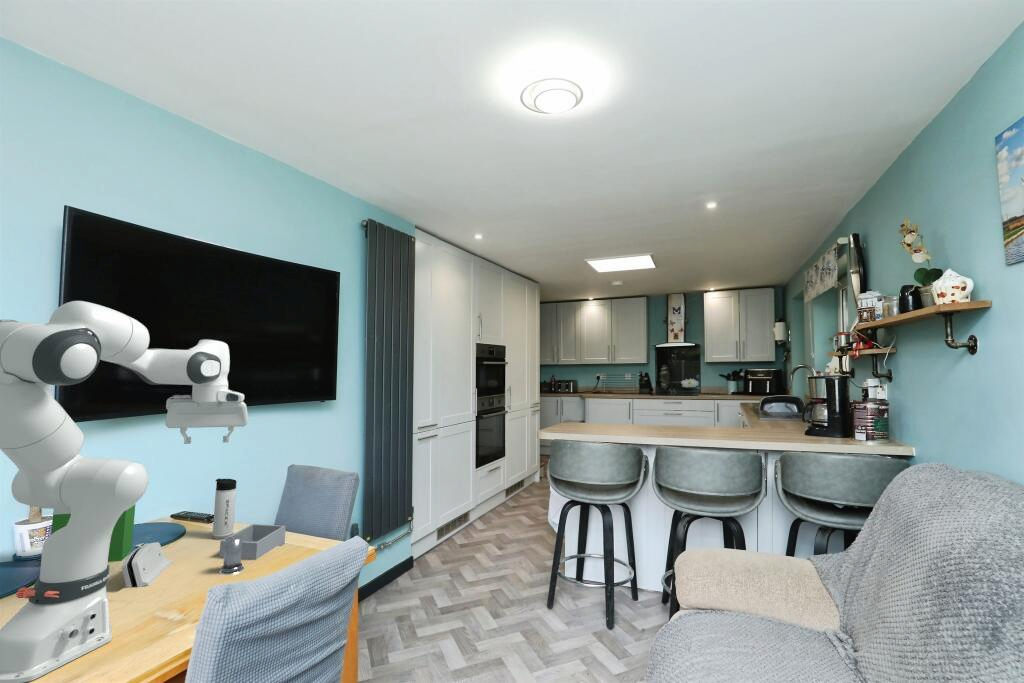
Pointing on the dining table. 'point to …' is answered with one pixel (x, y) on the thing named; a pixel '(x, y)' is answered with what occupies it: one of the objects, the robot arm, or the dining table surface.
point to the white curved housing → (144, 565)
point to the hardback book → (120, 533)
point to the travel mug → (224, 508)
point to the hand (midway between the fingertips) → (206, 442)
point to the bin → (258, 540)
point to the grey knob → (232, 555)
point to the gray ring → (232, 573)
